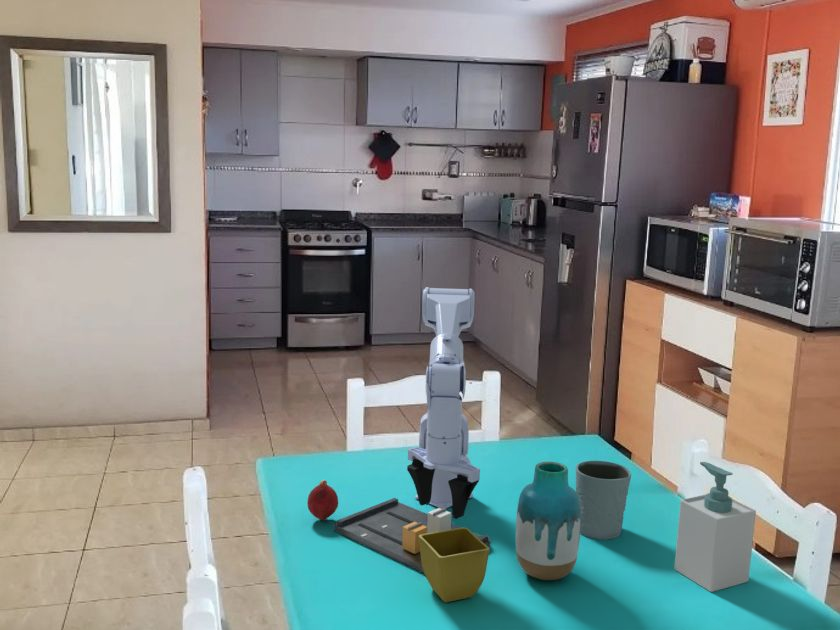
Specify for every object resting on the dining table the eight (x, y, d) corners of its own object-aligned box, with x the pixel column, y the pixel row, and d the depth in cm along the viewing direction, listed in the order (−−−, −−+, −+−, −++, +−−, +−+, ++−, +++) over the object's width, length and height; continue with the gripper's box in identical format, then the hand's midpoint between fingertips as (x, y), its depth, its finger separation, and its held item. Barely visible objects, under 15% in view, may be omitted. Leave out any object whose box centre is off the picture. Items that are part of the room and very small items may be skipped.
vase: (562, 596, 140) (569, 484, 136) (502, 578, 145) (508, 469, 141) (586, 570, 148) (594, 464, 145) (529, 554, 154) (535, 451, 150)
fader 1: (414, 542, 154) (414, 519, 153) (426, 548, 152) (427, 525, 151) (402, 548, 152) (402, 524, 151) (414, 553, 150) (415, 530, 149)
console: (395, 506, 172) (395, 496, 172) (490, 546, 156) (490, 535, 156) (334, 530, 161) (334, 520, 160) (430, 576, 145) (430, 565, 144)
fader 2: (438, 528, 160) (439, 505, 159) (450, 533, 158) (451, 510, 157) (426, 533, 158) (427, 510, 157) (439, 538, 156) (440, 515, 155)
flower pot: (416, 585, 142) (417, 533, 140) (464, 575, 145) (466, 525, 144) (438, 611, 134) (440, 557, 132) (488, 601, 138) (491, 548, 136)
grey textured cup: (561, 528, 164) (565, 468, 162) (590, 513, 172) (594, 455, 169) (608, 546, 158) (613, 484, 155) (636, 529, 165) (641, 469, 162)
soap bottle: (709, 559, 154) (720, 457, 150) (748, 582, 146) (760, 474, 142) (672, 569, 150) (682, 464, 146) (711, 592, 142) (722, 482, 138)
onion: (332, 528, 162) (333, 488, 160) (303, 524, 163) (303, 484, 161) (341, 515, 167) (342, 476, 166) (313, 512, 168) (313, 473, 167)
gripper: (396, 428, 147) (394, 504, 150) (461, 450, 138) (458, 530, 140) (424, 420, 152) (422, 493, 155) (489, 440, 143) (485, 517, 145)
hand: (441, 510), depth 148 cm, fingers open, 7 cm apart
